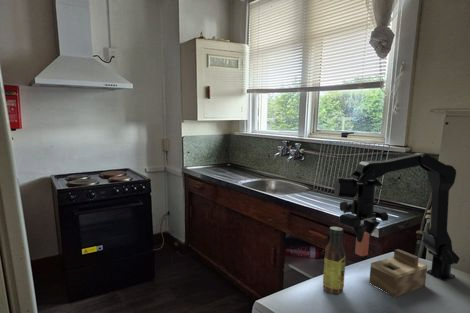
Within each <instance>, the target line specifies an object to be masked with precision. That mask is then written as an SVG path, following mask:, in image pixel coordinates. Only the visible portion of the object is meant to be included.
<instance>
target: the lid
mask: <svg viewBox="0 0 470 313" xmlns="http://www.w3.org/2000/svg"><path fill="white" fill-rule="evenodd" d="M419 259H420V258H419V256H417V255H414V254H413V253H409V252H408V251H404V250H402V249H398V248H397V249H394V253H393V256H391V257H387V258H384V259H379V260H377V261H374V262H370V267H371V266H372V267H374V268H376V269H378V270H380V271H382V272H384V273H386V274H388V275H390V276H392V277H394V278H399V277H402V276H405V275H408V274H411V273H414V272H417V271H420V270H423V269H426V268H427V269H428V264H426V263H424V262H420V261H419ZM386 266H391V267H393V268H396V270H391V269H389V268H387V267H386Z"/></svg>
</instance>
